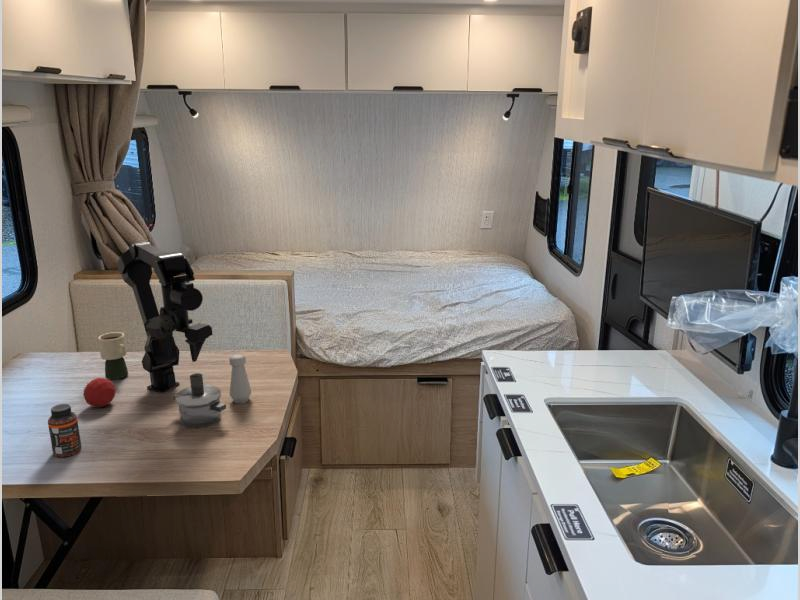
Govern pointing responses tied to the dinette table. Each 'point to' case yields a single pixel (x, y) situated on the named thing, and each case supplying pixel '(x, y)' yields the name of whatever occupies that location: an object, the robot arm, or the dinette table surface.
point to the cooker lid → (197, 393)
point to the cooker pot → (201, 414)
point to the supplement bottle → (64, 431)
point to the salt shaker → (239, 380)
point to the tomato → (99, 392)
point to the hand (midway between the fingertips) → (181, 358)
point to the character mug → (113, 354)
